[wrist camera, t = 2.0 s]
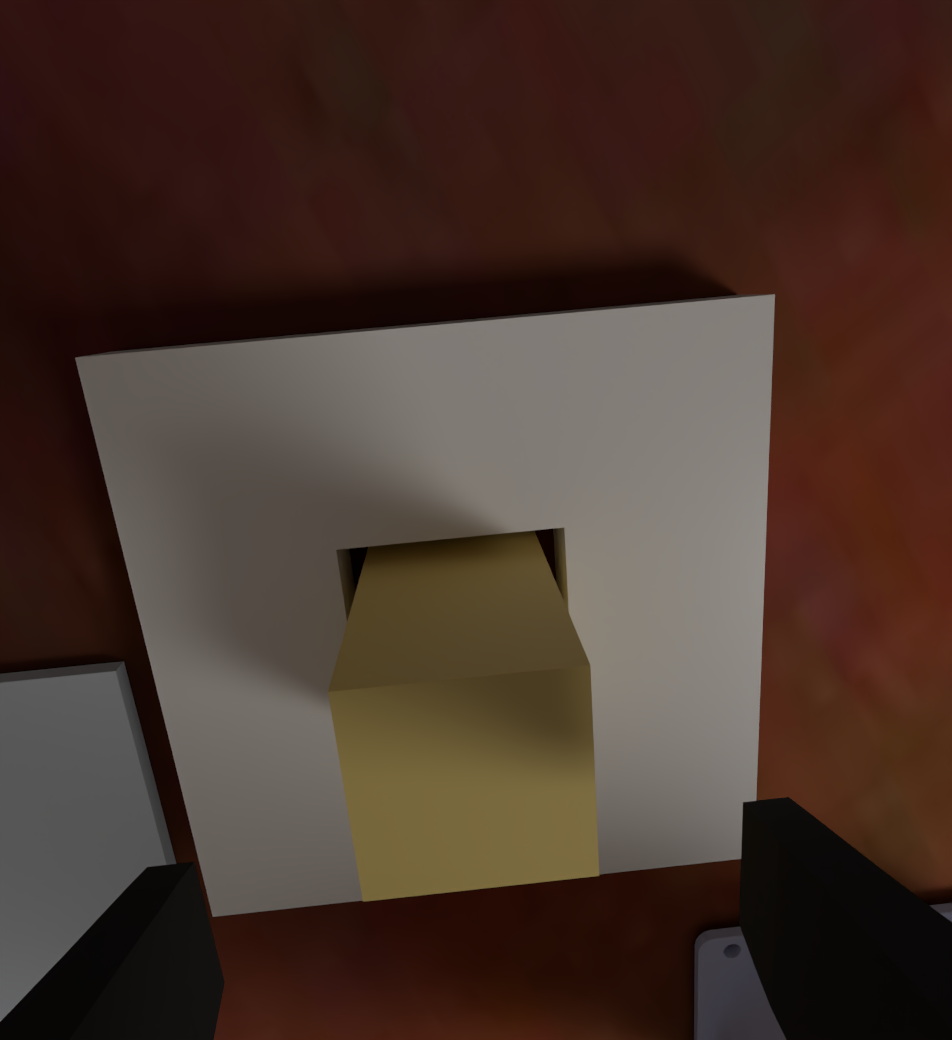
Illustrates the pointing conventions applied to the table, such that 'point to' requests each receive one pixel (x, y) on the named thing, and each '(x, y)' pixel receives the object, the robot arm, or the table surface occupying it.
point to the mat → (69, 812)
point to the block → (464, 720)
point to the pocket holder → (444, 515)
